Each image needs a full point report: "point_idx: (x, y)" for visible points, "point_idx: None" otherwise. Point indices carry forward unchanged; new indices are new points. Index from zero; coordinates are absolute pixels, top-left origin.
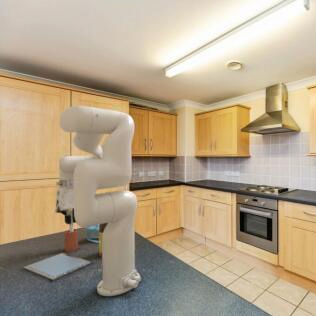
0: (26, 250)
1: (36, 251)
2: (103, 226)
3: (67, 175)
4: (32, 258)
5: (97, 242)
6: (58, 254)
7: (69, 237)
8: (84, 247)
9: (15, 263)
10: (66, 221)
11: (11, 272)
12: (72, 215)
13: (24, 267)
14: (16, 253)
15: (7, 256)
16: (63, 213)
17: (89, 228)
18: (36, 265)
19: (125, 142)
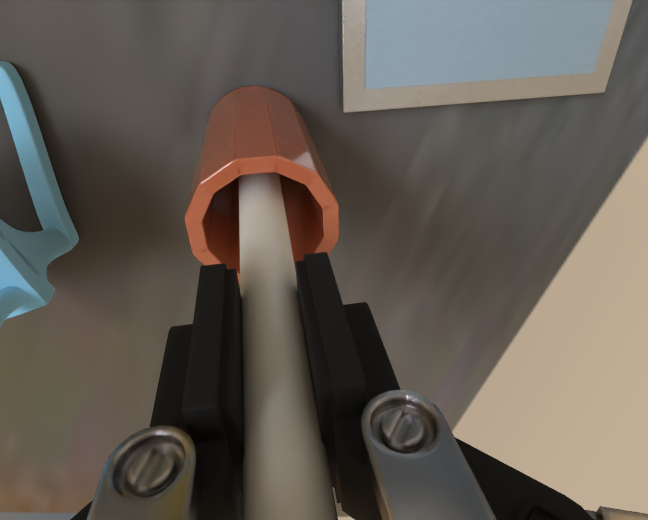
0: None
1: (385, 333)
2: None
3: None
4: (459, 237)
5: (3, 66)
6: (378, 105)
7: (306, 146)
8: (150, 96)
9: (533, 243)
10: (370, 317)
11: (635, 110)
12: (255, 419)
13: (607, 78)
14: (441, 382)
15: (479, 375)
16: (529, 479)
17: (3, 267)
18: (577, 17)
19: None
